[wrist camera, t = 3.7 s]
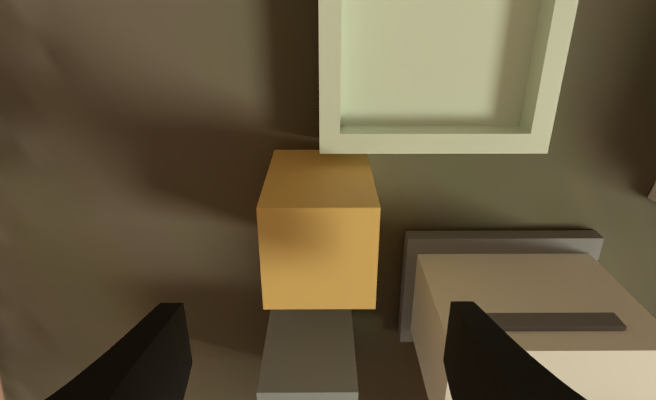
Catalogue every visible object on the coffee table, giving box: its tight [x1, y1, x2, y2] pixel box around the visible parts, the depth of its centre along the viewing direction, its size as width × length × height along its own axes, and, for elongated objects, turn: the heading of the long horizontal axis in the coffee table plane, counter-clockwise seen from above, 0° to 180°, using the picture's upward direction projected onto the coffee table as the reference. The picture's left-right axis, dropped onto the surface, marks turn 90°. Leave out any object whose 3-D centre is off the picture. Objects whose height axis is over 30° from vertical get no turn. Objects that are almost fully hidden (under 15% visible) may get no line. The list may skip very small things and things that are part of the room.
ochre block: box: [256, 150, 381, 310], centre depth 19 cm, size 4×4×6 cm
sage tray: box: [318, 0, 579, 154], centre depth 17 cm, size 9×9×2 cm
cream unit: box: [397, 230, 656, 400], centre depth 20 cm, size 6×9×7 cm, turn 90°
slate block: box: [256, 309, 358, 400], centre depth 22 cm, size 4×4×6 cm
